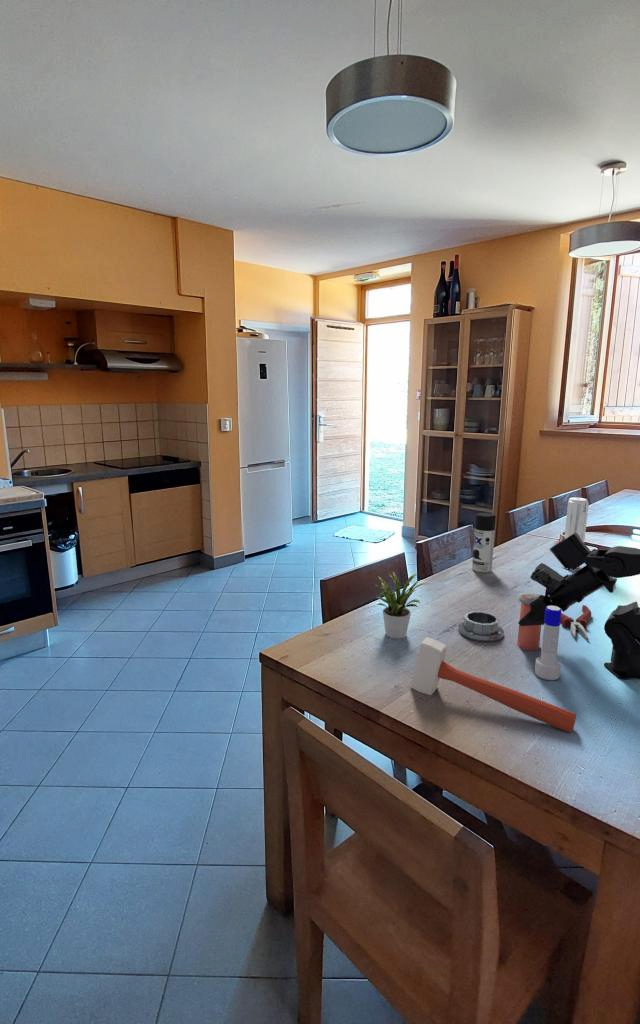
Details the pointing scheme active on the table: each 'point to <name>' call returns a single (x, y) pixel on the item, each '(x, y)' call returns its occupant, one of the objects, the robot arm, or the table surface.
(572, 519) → the white tall cylinder
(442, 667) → the mallet
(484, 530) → the spray can
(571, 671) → the table surface
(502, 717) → the table surface
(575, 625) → the pliers
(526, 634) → the orange capped cylinder
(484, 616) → the pipe socket
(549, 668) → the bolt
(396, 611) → the house plant
